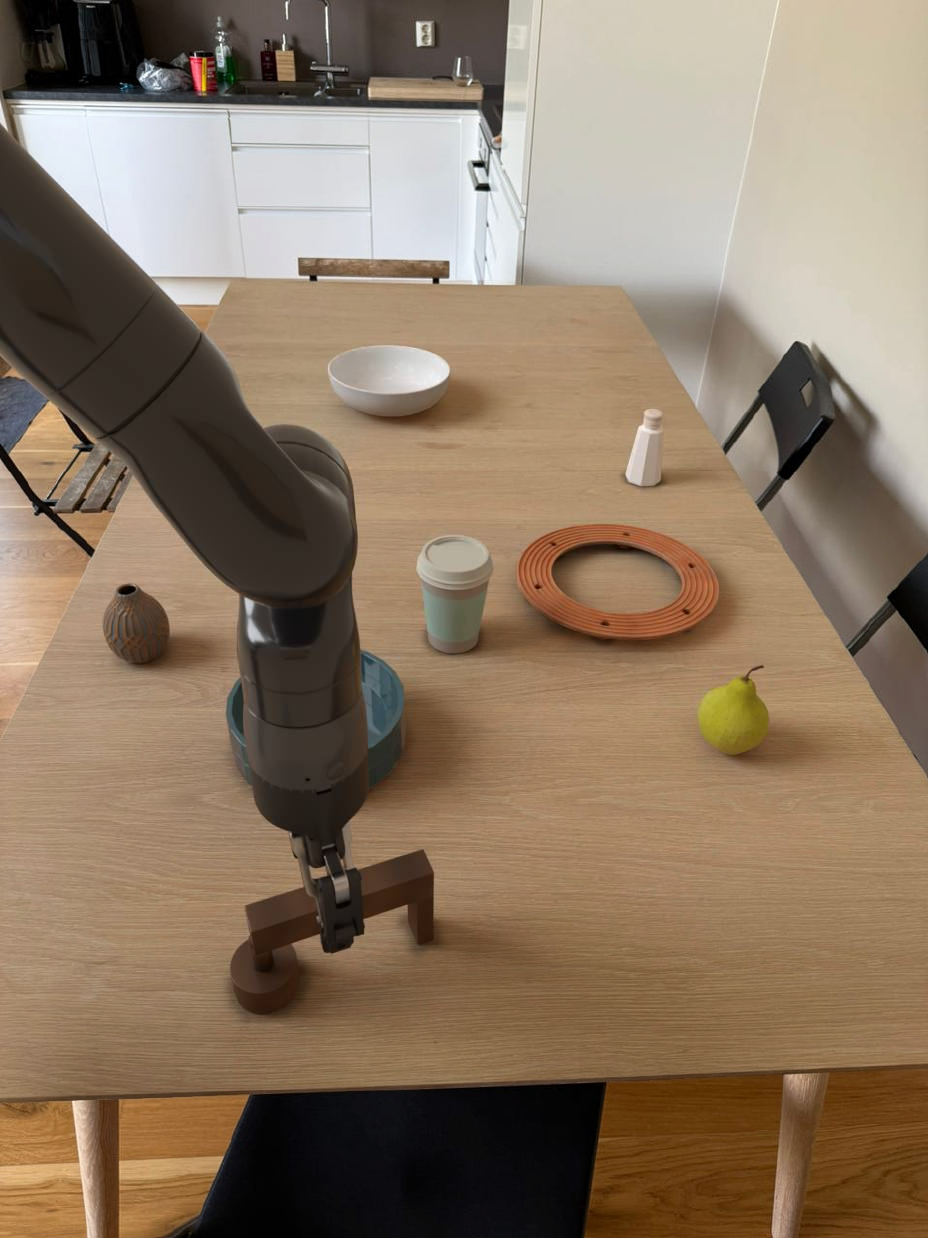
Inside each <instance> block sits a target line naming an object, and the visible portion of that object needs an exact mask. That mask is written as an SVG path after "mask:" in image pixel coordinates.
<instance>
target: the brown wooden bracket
mask: <svg viewBox="0 0 928 1238" xmlns="http://www.w3.org/2000/svg"><path fill="white" fill-rule="evenodd" d="M357 870H358V872H360V874H361V878H362V880H361V891H362V905H363V920H366V919H369V918H372V917H375V916H379V915H381V914H383V913H387V912H390V911H393V910H396V909H399V908H402V907H404V906H407V924H408V925H409V929H410V930H411V933H412V935H413V937H414V940H415V942H416V945H417V946H420V945H422V944H425V943H427V942H430V941H433V940H434V919H435V918H434V914H435V912H434V910H435V908H434V907H435V871H434V868H433V867H432V864H431V863H430V860H429V858H428V856H427V853H426V851H425V849H424V848H421V849H418V850H415V851H412V852H409V853H406V854H402V855H400V856H396V857H394V858H390V859H388V860H387V859H386V860H384V861H381V862H377V863H374V864H371V865H369V866H365V867H362V868H357ZM244 913H245V918H246V922H247V927H248V931H249V935H248V938H247V939H246V940H245V941H244V942H242V943H241V944H240V945H239V946H238V947H237V948H236V950H235V952H234V953H233V954H232V957H231V959H230V963H229V973H230V978H231V982H232V986H233V991H234V996H235V998H236V1001H237V1002H238V1004H239V1005H240V1006H241V1008H243V1009H244V1010H245V1011H248V1012H249V1013H253V1014H255V1015H268V1014H273V1013H276V1012H278V1011H281V1010H282V1009H283V1008H285V1007H286V1006H287V1005H288V1004H290V1003H291V1002H292V1001H293V999H294V998H295V996H296V994H297V993H298V990H299V987H300V982H301V981H300V972H299V963H298V958H297V953H296V950H295V947H294V946H293V944H294V943H298V942H300V941H303V940H307V939H309V938H313V937H316V936H320V929H319V924H318V923H317V919H316V916H317V911H316V906H315V901H314V897H310V896H309V895H308V894H307V892H306V891H305V889H304V886H302V887H299V888H296V889H292V890H290V891H286V892H283V893H280V894H276V895H273V896H270V897H267V898H265V899H262V900H258V901H255V902H252V903H249V904H245V905H244Z"/></svg>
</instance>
